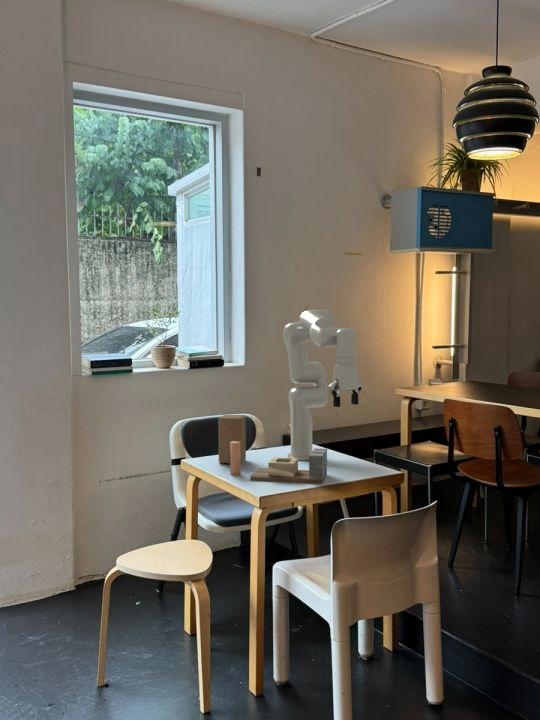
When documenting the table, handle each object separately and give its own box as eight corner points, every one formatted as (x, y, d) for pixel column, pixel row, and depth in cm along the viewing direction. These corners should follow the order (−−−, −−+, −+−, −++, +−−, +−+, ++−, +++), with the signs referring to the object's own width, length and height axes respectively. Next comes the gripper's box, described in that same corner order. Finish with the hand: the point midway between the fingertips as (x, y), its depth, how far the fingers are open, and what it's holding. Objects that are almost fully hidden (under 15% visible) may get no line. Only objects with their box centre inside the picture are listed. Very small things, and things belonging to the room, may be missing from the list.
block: (240, 465, 293) (240, 418, 292) (218, 464, 295) (217, 417, 294) (246, 459, 303) (246, 414, 301) (224, 458, 305) (223, 414, 303)
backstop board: (258, 471, 281) (258, 446, 281) (326, 474, 276) (326, 448, 275) (250, 480, 268) (250, 453, 267) (322, 483, 262) (322, 456, 261)
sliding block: (273, 469, 278) (273, 457, 278) (298, 470, 276) (298, 458, 275) (268, 475, 268) (268, 462, 268) (293, 476, 266) (293, 463, 266)
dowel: (232, 472, 280) (231, 441, 279) (241, 473, 279) (241, 441, 278) (229, 475, 276) (229, 443, 275) (239, 475, 275) (239, 443, 274)
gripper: (355, 359, 273) (354, 402, 274) (322, 361, 262) (322, 406, 264) (369, 360, 267) (368, 404, 268) (336, 363, 256) (336, 408, 258)
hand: (345, 405), depth 266 cm, fingers open, 9 cm apart
